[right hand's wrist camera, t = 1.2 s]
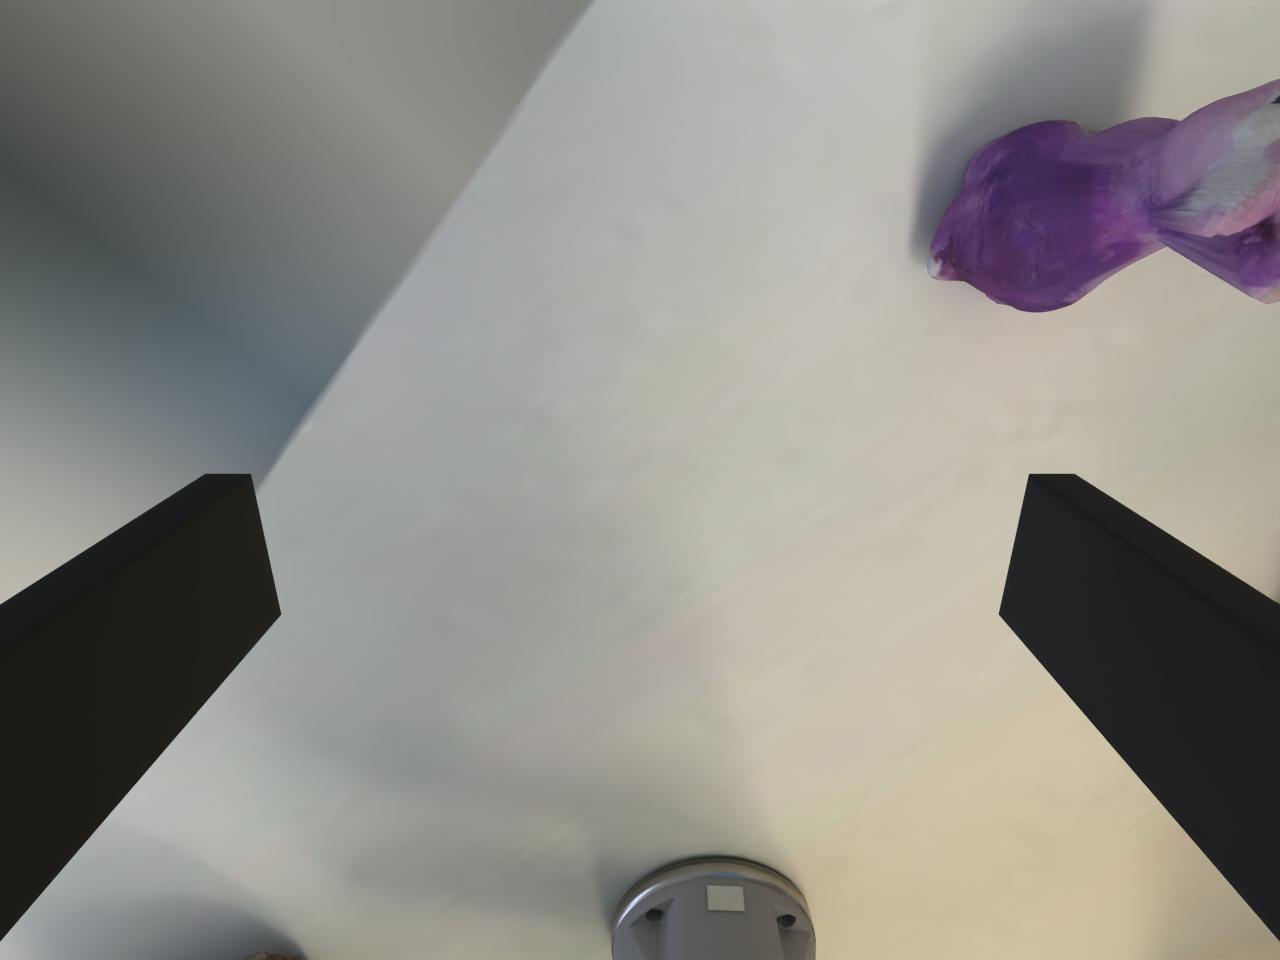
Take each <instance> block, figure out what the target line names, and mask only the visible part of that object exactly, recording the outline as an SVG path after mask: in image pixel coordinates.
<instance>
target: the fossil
mask: <svg viewBox="0 0 1280 960" xmlns="http://www.w3.org/2000/svg"><path fill="white" fill-rule="evenodd" d="M244 960H301V959H298V958H296V957H291V956H282V955H278V954H275V955H268V953H265V952H263V953H260V954H256V955H254V956H252V957H249V958H247V959H244Z"/></svg>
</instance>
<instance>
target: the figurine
mask: <svg viewBox="0 0 1280 960" xmlns="http://www.w3.org/2000/svg"><path fill="white" fill-rule="evenodd" d="M1166 246H1167V247H1169V248H1171V249H1172V250H1174V251H1176V252H1177V253H1179V254H1181V255H1182V256H1184V257H1186V258H1187V259H1189V260H1191V261H1192V262H1194V263H1196V264H1197V265H1199V266H1200V267H1202V268H1204V269H1205V270H1207V271H1209V272H1210V273H1212V274H1214V275H1215V276H1217V277H1219V278H1220V279H1222V280H1224V281H1225V282H1227V283H1229V284H1230V285H1232V286H1234V287H1235V288H1237V289H1238V290H1240V291H1242V292H1243V293H1245V294H1247V295H1248V296H1250V297H1252V298H1254V299H1256V300H1259V301H1261V302H1263V303H1266V304H1269V303H1273V302H1278V301H1280V79H1277V80H1274V81H1272V82H1269V83H1267V84H1264V85H1262V86H1259V87H1257V88H1254V89H1251V90H1249V91H1246V92H1243V93H1240V94H1237V95H1233V96H1229V97H1226V98H1222V99H1220V100H1217V101H1215V102H1213V103H1211V104H1209V105H1207V106H1205V107H1203V108H1201V109H1199V110H1197V111H1195V112H1194V113H1192V114H1190V115H1189V116H1188V117H1186V118H1185V119H1184V120H1182V121H1178V120H1174V119H1167V118H1158V117H1144V118H1139V119H1135V120H1130V121H1126V122H1124V123H1121V124H1118V125H1116V126H1113V127H1111V128H1109V129H1106V130H1104V131H1097V132H1089V133H1088V132H1087V131H1085V130H1084V129H1082V128H1081V127H1079V125H1078V124H1077V123H1075V122H1073V121H1065V120H1053V121H1044V122H1039V123H1035V124H1032V125H1028V126H1024V127H1022V128H1019V129H1017V130H1015V131H1013V132H1011V133H1009V134H1007V135H1005V136H1002V137H1000V138H998V139H996V140H994V141H992V142H990V143H988V144H986V145H984V146H983V147H982V148H981V149H980V150H979V151H978V152H977V153H976V154H975V155H974V156H973V157H972V159H971V161H970V163H969V165H968V168H967V171H966V175H965V181H964V187H963V189H962V190H961V191H960V192H959V194H958V195H957V196H956V198H955V199H954V201H953V202H952V203H951V205H950V206H949V208H948V210H947V211H946V214H945V216H944V218H943V220H942V222H941V224H940V226H939V228H938V230H937V232H936V234H935V236H934V238H933V240H932V243H931V246H930V249H929V253H928V260H927V269H928V273H929V275H930V276H931V277H932V278H935V279H937V280H945V281H965V282H967V283H969V284H970V285H972V286H974V287H975V288H977V289H978V290H980V291H982V292H984V293H985V294H986V295H987V297H988V298H990V299H991V300H993V301H994V302H996V303H997V304H1004V305H1009V306H1012V307H1014V308H1015V309H1017V310H1020V311H1026V312H1047V311H1053V310H1057V309H1060V308H1063V307H1066V306H1069V305H1071V304H1073V303H1075V302H1076V301H1078V300H1079V299H1081V298H1082V297H1083V296H1085V295H1086V294H1088V293H1089V292H1091V291H1092V290H1093V289H1094V288H1096V287H1097V286H1098V285H1099V284H1101V283H1102V282H1103V281H1104V280H1106V279H1108V278H1109V277H1111V276H1112V275H1114V274H1115V273H1117V272H1118V271H1120V270H1122V269H1124V268H1125V267H1127V266H1129V265H1130V264H1132V263H1134V262H1136V261H1138V260H1140V259H1142V258H1144V257H1146V256H1148V255H1150V254H1152V253H1154V252H1156V251H1158V250H1160V249H1162V248H1164V247H1166Z"/></svg>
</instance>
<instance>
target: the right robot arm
mask: <svg viewBox="0 0 1280 960" xmlns="http://www.w3.org/2000/svg"><path fill="white" fill-rule="evenodd" d="M280 615H281V611H280V606H279V602H278V597H277V592H276V588H275V583H274V579H273V574H272V569H271V565H270V560H269V555H268V551H267V546H266V542H265V537H264V532H263V528H262V523H261V518H260V514H259V509H258V505H257V500H256V495H255V491H254V486H253V481H252V477H251V474H204V475H203V476H201V477H200V478H198V479H197V480H195V481H193V482H192V483H190V484H189V485H187V486H186V487H184V488H183V489H181V490H179V491H178V492H176V493H175V494H173V495H172V496H170V497H168V498H167V499H165V500H164V501H162V502H161V503H159V504H157V505H156V506H154V507H153V508H151V509H149V510H148V511H146V512H145V513H143V514H142V515H140V516H139V517H137V518H135V519H134V520H132V521H131V522H129V523H128V524H126V525H124V526H123V527H121V528H120V529H118V530H117V531H115V532H113V533H112V534H110V535H109V536H107V537H106V538H104V539H102V540H101V541H99V542H98V543H96V544H95V545H93V546H91V547H90V548H88V549H87V550H85V551H84V552H82V553H80V554H79V555H77V556H76V557H74V558H73V559H71V560H70V561H68V562H66V563H65V564H63V565H62V566H60V567H58V568H57V569H55V570H54V571H52V572H51V573H49V574H48V575H46V576H44V577H43V578H41V579H40V580H38V581H36V582H35V583H33V584H32V585H30V586H29V587H27V588H26V589H24V590H22V591H21V592H19V593H18V594H16V595H15V596H13V597H11V598H10V599H8V600H7V601H5V602H4V603H2V604H0V941H1V940H2V939H3V938H4V936H5V935H6V934H7V933H8V932H9V931H10V929H11V928H12V927H13V926H14V925H15V924H16V922H17V921H18V920H19V919H20V918H21V917H22V915H23V914H24V913H25V912H26V911H27V910H28V908H29V907H30V906H31V905H32V904H33V903H34V902H35V900H36V899H37V898H38V897H39V896H40V895H41V893H42V892H43V891H44V890H45V889H46V888H47V886H48V885H49V884H50V883H51V882H52V881H53V879H54V878H55V877H56V876H57V875H58V874H59V872H60V871H61V870H62V869H63V868H64V867H65V865H66V864H67V863H68V862H69V861H70V860H71V858H72V857H73V856H74V855H75V854H76V853H77V851H78V850H79V849H80V848H81V847H82V846H83V844H84V843H85V842H86V841H87V840H88V839H89V838H90V836H91V835H92V834H93V833H94V832H95V831H96V829H97V828H98V827H99V826H100V825H101V824H102V822H103V821H104V820H105V819H106V818H107V817H108V815H109V814H110V813H111V812H112V811H113V810H114V808H115V807H116V806H117V805H118V804H119V803H120V801H121V800H122V799H123V798H124V797H125V796H126V794H127V793H128V792H129V791H130V790H131V789H132V787H133V786H134V785H135V784H136V783H137V782H138V780H139V779H140V778H141V777H142V776H143V775H144V774H145V772H146V771H147V770H148V769H149V768H150V767H151V765H152V764H153V763H154V762H155V761H156V760H157V758H158V757H159V756H160V755H161V754H162V753H163V751H164V750H165V749H166V748H167V747H168V746H169V744H170V743H171V742H172V741H173V740H174V739H175V737H176V736H177V735H178V734H179V733H180V732H181V730H182V729H183V728H184V727H185V726H186V725H187V723H188V722H189V721H190V720H191V719H192V718H193V716H194V715H195V714H196V713H197V712H198V711H199V710H200V708H201V707H202V706H203V705H204V704H205V703H206V701H207V700H208V699H209V698H210V697H211V696H212V694H213V693H214V692H215V691H216V690H217V689H218V687H219V686H220V685H221V684H222V683H223V682H224V680H225V679H226V678H227V677H228V676H229V675H230V673H231V672H232V671H233V670H234V669H235V668H236V666H237V665H238V664H239V663H240V662H241V661H242V659H243V658H244V657H245V656H246V655H247V654H248V653H249V651H250V650H251V649H252V648H253V647H254V646H255V644H256V643H257V642H258V641H259V640H260V639H261V637H262V636H263V635H264V634H265V633H266V632H267V630H268V629H269V628H270V627H271V626H272V625H273V623H274V622H275V621H276V620H277V619H278V618H279V616H280ZM999 615H1000V616H1001V618H1002V619H1003V620H1004V621H1005V622H1006V623H1007V625H1008V626H1009V627H1010V628H1011V629H1012V630H1013V632H1014V633H1015V634H1016V635H1017V636H1018V637H1019V639H1020V640H1021V641H1022V642H1023V643H1024V644H1025V646H1026V647H1027V648H1028V649H1029V650H1030V651H1031V653H1032V654H1033V655H1034V656H1035V657H1036V658H1037V659H1038V661H1039V662H1040V663H1041V664H1042V665H1043V666H1044V668H1045V669H1046V670H1047V671H1048V672H1049V673H1050V675H1051V676H1052V677H1053V678H1054V679H1055V680H1056V682H1057V683H1058V684H1059V685H1060V686H1061V687H1062V689H1063V690H1064V691H1065V692H1066V693H1067V694H1068V696H1069V697H1070V698H1071V699H1072V700H1073V701H1074V703H1075V704H1076V705H1077V706H1078V707H1079V708H1080V710H1081V711H1082V712H1083V713H1084V714H1085V715H1086V716H1087V718H1088V719H1089V720H1090V721H1091V722H1092V723H1093V725H1094V726H1095V727H1096V728H1097V729H1098V730H1099V732H1100V733H1101V734H1102V735H1103V736H1104V737H1105V739H1106V740H1107V741H1108V742H1109V743H1110V744H1111V746H1112V747H1113V748H1114V749H1115V750H1116V751H1117V753H1118V754H1119V755H1120V756H1121V757H1122V758H1123V760H1124V761H1125V762H1126V763H1127V764H1128V765H1129V767H1130V768H1131V769H1132V770H1133V771H1134V772H1135V774H1136V775H1137V776H1138V777H1139V778H1140V779H1141V780H1142V782H1143V783H1144V784H1145V785H1146V786H1147V787H1148V789H1149V790H1150V791H1151V792H1152V793H1153V794H1154V796H1155V797H1156V798H1157V799H1158V800H1159V801H1160V803H1161V804H1162V805H1163V806H1164V807H1165V808H1166V810H1167V811H1168V812H1169V813H1170V814H1171V815H1172V817H1173V818H1174V819H1175V820H1176V821H1177V822H1178V824H1179V825H1180V826H1181V827H1182V828H1183V829H1184V831H1185V832H1186V833H1187V834H1188V835H1189V836H1190V838H1191V839H1192V840H1193V841H1194V842H1195V843H1196V844H1197V846H1198V847H1199V848H1200V849H1201V850H1202V851H1203V853H1204V854H1205V855H1206V856H1207V857H1208V858H1209V860H1210V861H1211V862H1212V863H1213V864H1214V865H1215V867H1216V868H1217V869H1218V870H1219V871H1220V872H1221V874H1222V875H1223V876H1224V877H1225V878H1226V879H1227V881H1228V882H1229V883H1230V884H1231V885H1232V886H1233V888H1234V889H1235V890H1236V891H1237V892H1238V893H1239V895H1240V896H1241V897H1242V898H1243V899H1244V900H1245V902H1246V903H1247V904H1248V905H1249V906H1250V907H1251V908H1252V910H1253V911H1254V912H1255V913H1256V914H1257V915H1258V917H1259V918H1260V919H1261V920H1262V921H1263V922H1264V924H1265V925H1266V926H1267V927H1268V928H1269V929H1270V931H1271V932H1272V933H1273V934H1274V935H1275V936H1276V938H1277V939H1278V940H1279V941H1280V604H1278V603H1276V602H1275V601H1273V600H1272V599H1270V598H1269V597H1267V596H1265V595H1264V594H1262V593H1261V592H1259V591H1258V590H1256V589H1254V588H1253V587H1251V586H1250V585H1248V584H1247V583H1245V582H1244V581H1242V580H1240V579H1239V578H1237V577H1236V576H1234V575H1233V574H1231V573H1229V572H1228V571H1226V570H1225V569H1223V568H1222V567H1220V566H1218V565H1217V564H1215V563H1214V562H1212V561H1211V560H1209V559H1207V558H1206V557H1204V556H1203V555H1201V554H1200V553H1198V552H1196V551H1195V550H1193V549H1192V548H1190V547H1189V546H1187V545H1185V544H1184V543H1182V542H1181V541H1179V540H1178V539H1176V538H1174V537H1173V536H1171V535H1170V534H1168V533H1167V532H1165V531H1163V530H1162V529H1160V528H1159V527H1157V526H1156V525H1154V524H1152V523H1151V522H1149V521H1148V520H1146V519H1145V518H1143V517H1141V516H1140V515H1138V514H1137V513H1135V512H1134V511H1132V510H1131V509H1129V508H1127V507H1126V506H1124V505H1123V504H1121V503H1120V502H1118V501H1116V500H1115V499H1113V498H1112V497H1110V496H1109V495H1107V494H1105V493H1104V492H1102V491H1101V490H1099V489H1098V488H1096V487H1094V486H1093V485H1091V484H1090V483H1088V482H1087V481H1085V480H1083V479H1082V478H1080V477H1079V476H1077V475H1076V474H1029V477H1028V481H1027V486H1026V491H1025V495H1024V500H1023V505H1022V509H1021V514H1020V518H1019V523H1018V528H1017V532H1016V537H1015V542H1014V546H1013V551H1012V555H1011V560H1010V565H1009V569H1008V574H1007V579H1006V583H1005V588H1004V592H1003V597H1002V602H1001V606H1000V611H999ZM815 956H816V939H815V933H814V928H813V924H812V920H811V916H810V912H809V909H808V906H807V904H806V901H805V900H804V898H803V896H802V895H801V894H800V892H799V891H798V890H797V889H796V888H795V887H794V886H793V885H792V884H791V883H790V882H789V881H788V880H786V879H785V878H784V877H782V876H781V875H779V874H778V873H776V872H774V871H772V870H770V869H768V868H765V867H763V866H760V865H757V864H754V863H751V862H747V861H742V860H736V859H728V858H703V859H695V860H689V861H684V862H680V863H676V864H673V865H670V866H667V867H664V868H662V869H660V870H658V871H656V872H654V873H652V874H650V875H648V876H647V877H645V878H644V879H642V880H641V881H639V882H638V883H637V884H636V885H635V886H633V887H632V888H631V889H630V890H629V891H628V893H627V894H626V895H625V896H624V898H623V899H622V900H621V902H620V904H619V906H618V908H617V910H616V912H615V916H614V919H613V928H612V957H613V960H815Z"/></svg>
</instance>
